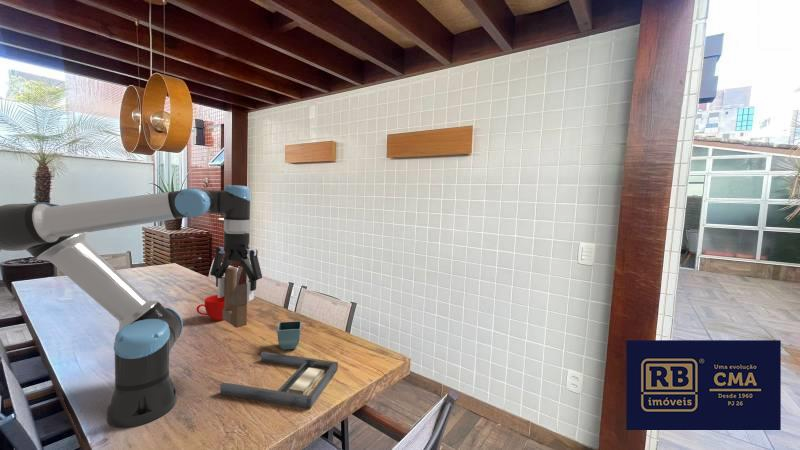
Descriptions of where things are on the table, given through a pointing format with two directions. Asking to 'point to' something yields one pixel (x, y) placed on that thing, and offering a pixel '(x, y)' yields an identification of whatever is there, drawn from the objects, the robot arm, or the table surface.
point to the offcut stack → (306, 381)
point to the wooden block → (235, 299)
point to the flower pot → (289, 334)
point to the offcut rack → (282, 394)
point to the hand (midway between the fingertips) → (235, 298)
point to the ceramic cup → (213, 307)
